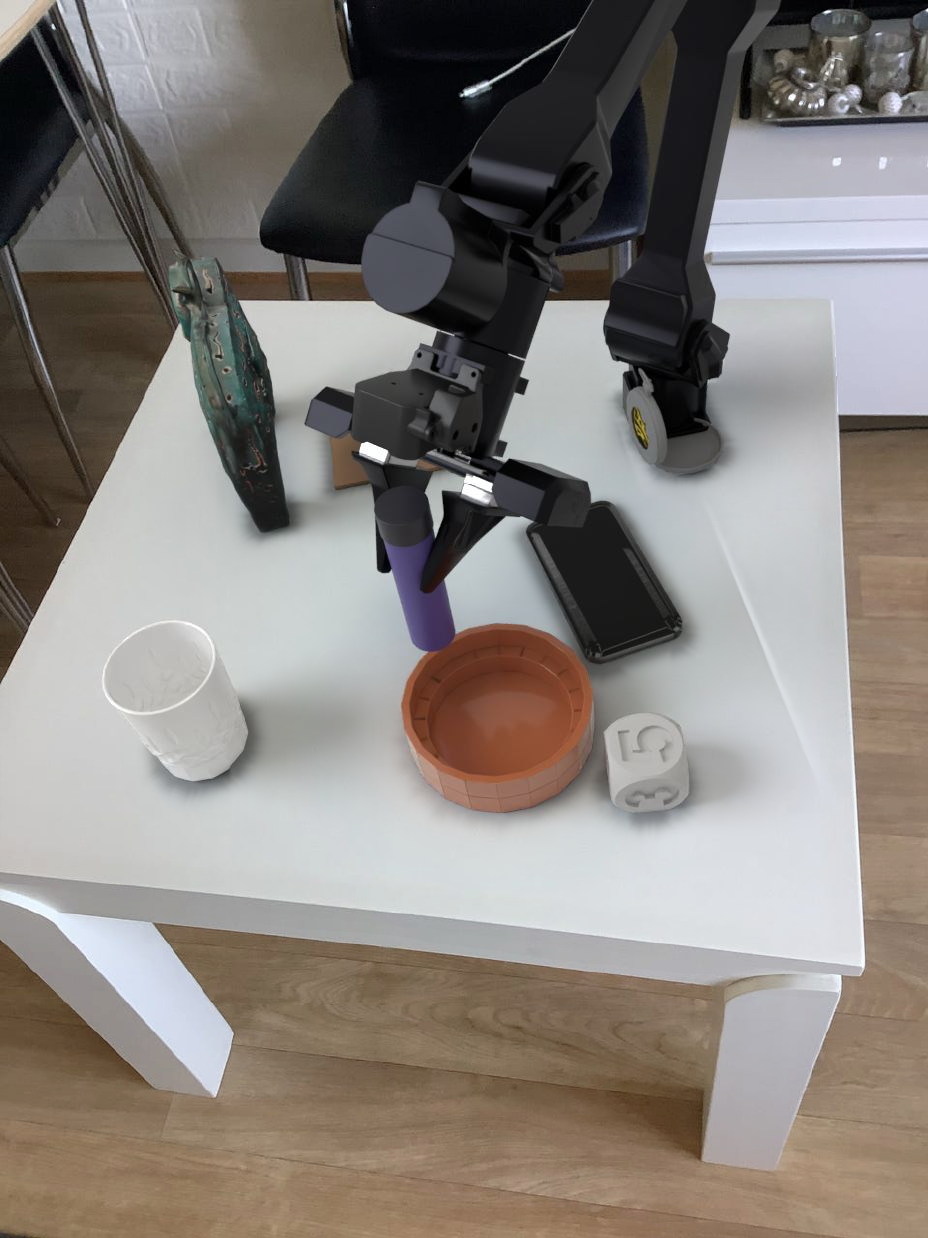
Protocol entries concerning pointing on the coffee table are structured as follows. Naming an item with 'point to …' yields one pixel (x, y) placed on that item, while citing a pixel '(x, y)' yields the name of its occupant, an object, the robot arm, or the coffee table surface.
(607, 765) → the die
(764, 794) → the coffee table surface
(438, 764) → the bowl
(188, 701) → the white cup
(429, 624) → the glue stick
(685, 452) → the pocket watch
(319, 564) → the coffee table surface
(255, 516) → the green weathered sculpture
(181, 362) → the coffee table surface
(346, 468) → the coaster
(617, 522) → the phone
